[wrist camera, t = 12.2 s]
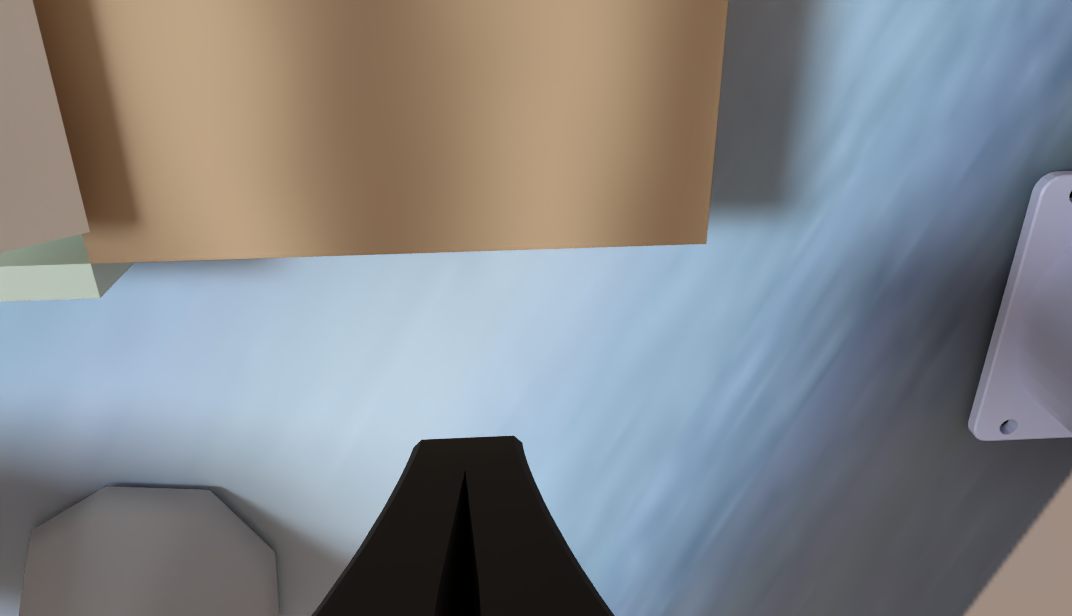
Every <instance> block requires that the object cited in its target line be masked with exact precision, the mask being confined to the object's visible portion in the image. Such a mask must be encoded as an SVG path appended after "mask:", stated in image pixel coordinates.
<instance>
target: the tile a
mask: <svg viewBox="0 0 1072 616" xmlns="http://www.w3.org/2000/svg"><path fill="white" fill-rule="evenodd" d="M88 232H90V230H89V226H88V222H87V218H86V214H85V210H84V206H83V202H82V198H81V194H80V190H79V186H78V182H77V178H76V173H75V169H74V165H73V161H72V157H71V153H70V149H69V145H68V141H67V137H66V133H65V129H64V125H63V121H62V117H61V113H60V109H59V105H58V101H57V97H56V93H55V89H54V85H53V81H52V77H51V73H50V69H49V65H48V61H47V57H46V53H45V49H44V45H43V41H42V37H41V33H40V29H39V25H38V20H37V16H36V12H35V8H34V4H33V0H0V253H3V252H7V251H12V250H16V249H20V248H24V247H28V246H33V245H37V244H41V243H45V242H50V241H54V240H58V239H62V238H67V237H71V236H75V235H79V234H83V233H88Z"/></svg>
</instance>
